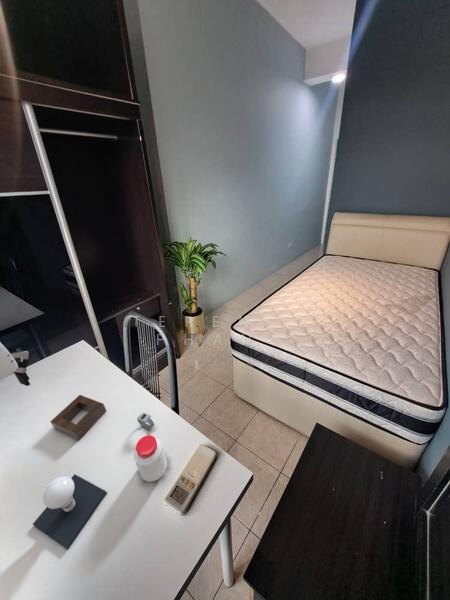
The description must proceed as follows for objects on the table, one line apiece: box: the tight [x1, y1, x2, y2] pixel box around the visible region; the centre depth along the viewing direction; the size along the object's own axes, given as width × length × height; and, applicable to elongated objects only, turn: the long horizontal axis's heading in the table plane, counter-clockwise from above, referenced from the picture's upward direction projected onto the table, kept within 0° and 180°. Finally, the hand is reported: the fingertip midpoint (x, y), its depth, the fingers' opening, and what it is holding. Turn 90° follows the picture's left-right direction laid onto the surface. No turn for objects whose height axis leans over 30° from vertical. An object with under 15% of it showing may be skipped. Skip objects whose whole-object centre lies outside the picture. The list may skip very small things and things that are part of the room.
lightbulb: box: [42, 475, 76, 512], centre depth 61 cm, size 6×6×11 cm
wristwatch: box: [137, 412, 155, 430], centre depth 83 cm, size 6×3×5 cm, turn 65°
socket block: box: [50, 394, 107, 441], centre depth 86 cm, size 12×12×4 cm
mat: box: [32, 474, 108, 550], centre depth 64 cm, size 12×12×1 cm
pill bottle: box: [133, 434, 168, 483], centre depth 70 cm, size 8×8×11 cm
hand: (5, 398), depth 61 cm, fingers open, 9 cm apart
